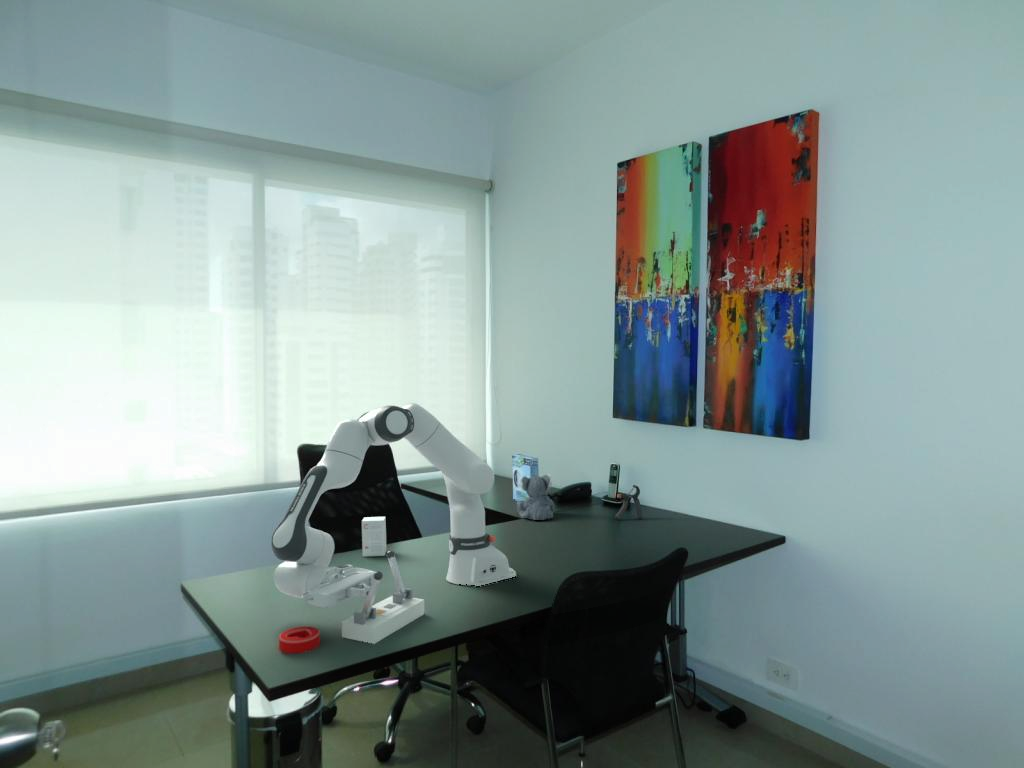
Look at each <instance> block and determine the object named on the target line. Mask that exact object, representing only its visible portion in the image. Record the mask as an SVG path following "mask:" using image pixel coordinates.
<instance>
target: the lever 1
mask: <svg viewBox="0 0 1024 768" xmlns="http://www.w3.org/2000/svg"><path fill="white" fill-rule="evenodd" d="M383 576H384V575H383V573H382V571H379V570H378V571H375V573H374V578H373V581H372V584H371V587H370V590H369V593H368V596H366V599H365V602H364V605H363V608H362V610H361V611H362V612H361V611H359V612H360V613H363V614H365V619H366V618H368V617H370V616H371V615H372V611H371V608H372V606H373V605H374V602H375V598H376V596H377V593H378V591H379V587H380V583H381V581H382V579H383Z"/></svg>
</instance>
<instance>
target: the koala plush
mask: <svg viewBox="0 0 1024 768" xmlns="http://www.w3.org/2000/svg"><path fill="white" fill-rule="evenodd" d="M519 481H520V483H519V484H520V487H521V488H522V489H523V491H526V492H527V495H528V496H529V497H527V498H526V499H525V501H523V500H519V501H516V508H517V509H516V511H517V513H518V515H519V517H521V519H525V518H531V519H530V520H532V519H533V520H532V521H534V520H543V521H545V520H547V519H548V520H551V519H553V518H554V513H555V507H556V505H555V502H554V501H553V500H552V499H551V497H550V496H548V495H547V494H546V492H547V491H549V490H550V489H551V488H552V485H553V477H552V476H551V474H549V473H547V474H544V475H542V476H532V477H530V478H527V477H525V476H524V477H523V476H522V477H520V478H519ZM550 518H551V519H550Z"/></svg>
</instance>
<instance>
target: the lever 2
mask: <svg viewBox="0 0 1024 768" xmlns="http://www.w3.org/2000/svg"><path fill="white" fill-rule="evenodd" d="M395 554H396V553H395V552H394V551H393V550H389V551H386V557H387V560H388V563H389V566H390V571H391V573H392V577H393V580H394V583H395V587H396V591H397V593H400V594H403V599H404V598H406V597H408V596H409V592H408V591H407V590H405V588H406V587H405V585H404V582H403V580H402V576H401V572H400V568H399V566H398V562H397V559H396V556H395Z"/></svg>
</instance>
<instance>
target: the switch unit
mask: <svg viewBox="0 0 1024 768" xmlns="http://www.w3.org/2000/svg"><path fill="white" fill-rule="evenodd" d="M404 588H405V590H407V591H408V592H409V596H408V597H406V598H404V599H403V594H400V593H398V592H393V593H392V595H390V596H389V597H386V598H385V599H382V600H381V601H379V602H377V603H375V604H373V605H372V608H371V611H372V615H371V616H370V617H368V618H366V619H365V614H363V613H360V612H362V611H363V610H361V611H359V612H358V611H355V612H354V613H353V615H351V616H349V617H347V618H346V619H344V620H342V621H341V637H342V638H345V639H349V640H353V641H359V642H362V641H363V643H367V642H368V643H367V644H371V643H372V645H375V644H377V643H378V642H380V641H382V640H383V639H385V638H386V637H389V636H390V635H392V634H393V633H395V632H397V631H398V630H401V629H402V628H403V627H405V626H407V625H409V624H410V623H411V622H414V621H416V620H417V619H418V618H420V617H422V616H424V615H425V599H424V598H423V599H422V598H419V597H418V598H417V597H413V588H409V587H408V588H407V587H404Z"/></svg>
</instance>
